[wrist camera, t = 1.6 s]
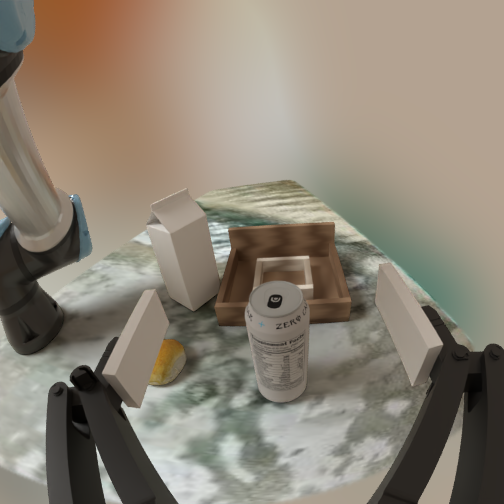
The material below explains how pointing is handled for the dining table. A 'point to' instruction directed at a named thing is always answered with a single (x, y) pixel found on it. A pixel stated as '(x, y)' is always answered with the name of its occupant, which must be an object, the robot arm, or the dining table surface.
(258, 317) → the energy drink can
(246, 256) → the walled box
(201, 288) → the milk carton
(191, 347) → the dining table surface
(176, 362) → the bread roll
